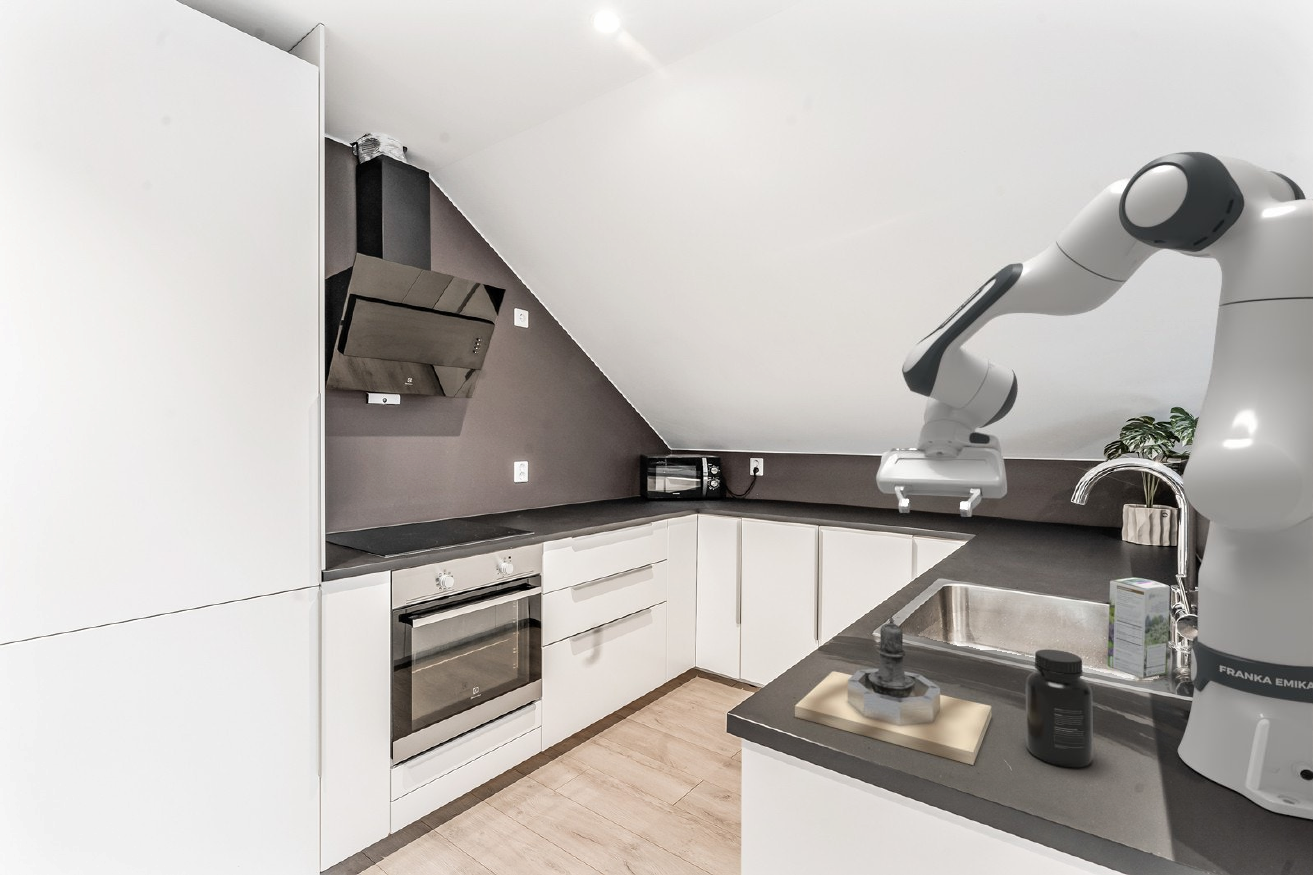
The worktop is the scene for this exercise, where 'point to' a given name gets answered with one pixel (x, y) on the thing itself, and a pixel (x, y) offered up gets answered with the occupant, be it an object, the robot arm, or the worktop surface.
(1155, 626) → the syrup box
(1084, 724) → the supplement bottle
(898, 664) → the dark grey turned piece
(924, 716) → the metal collar
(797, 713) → the carrier plate
